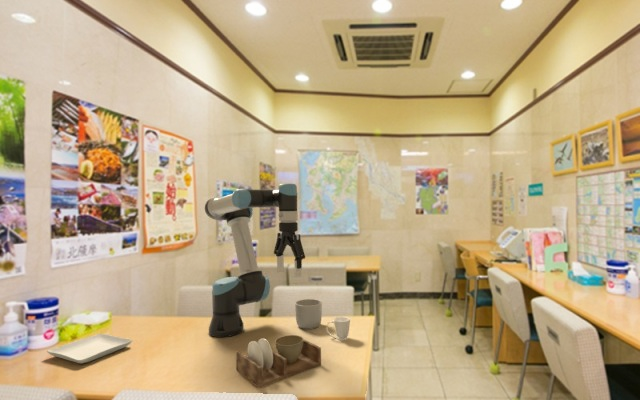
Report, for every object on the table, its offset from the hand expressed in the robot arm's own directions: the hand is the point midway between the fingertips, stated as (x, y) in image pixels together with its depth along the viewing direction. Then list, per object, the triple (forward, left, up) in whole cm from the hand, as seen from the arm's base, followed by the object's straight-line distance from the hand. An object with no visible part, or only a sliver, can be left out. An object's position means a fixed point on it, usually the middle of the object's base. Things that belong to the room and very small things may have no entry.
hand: (288, 274), depth 144 cm
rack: (+16, -15, -28) cm, 35 cm away
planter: (-12, +18, -28) cm, 36 cm away
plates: (+16, -22, -27) cm, 38 cm away
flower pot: (+15, -10, -27) cm, 33 cm away
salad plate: (-44, -64, -28) cm, 83 cm away
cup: (+9, +18, -28) cm, 35 cm away
